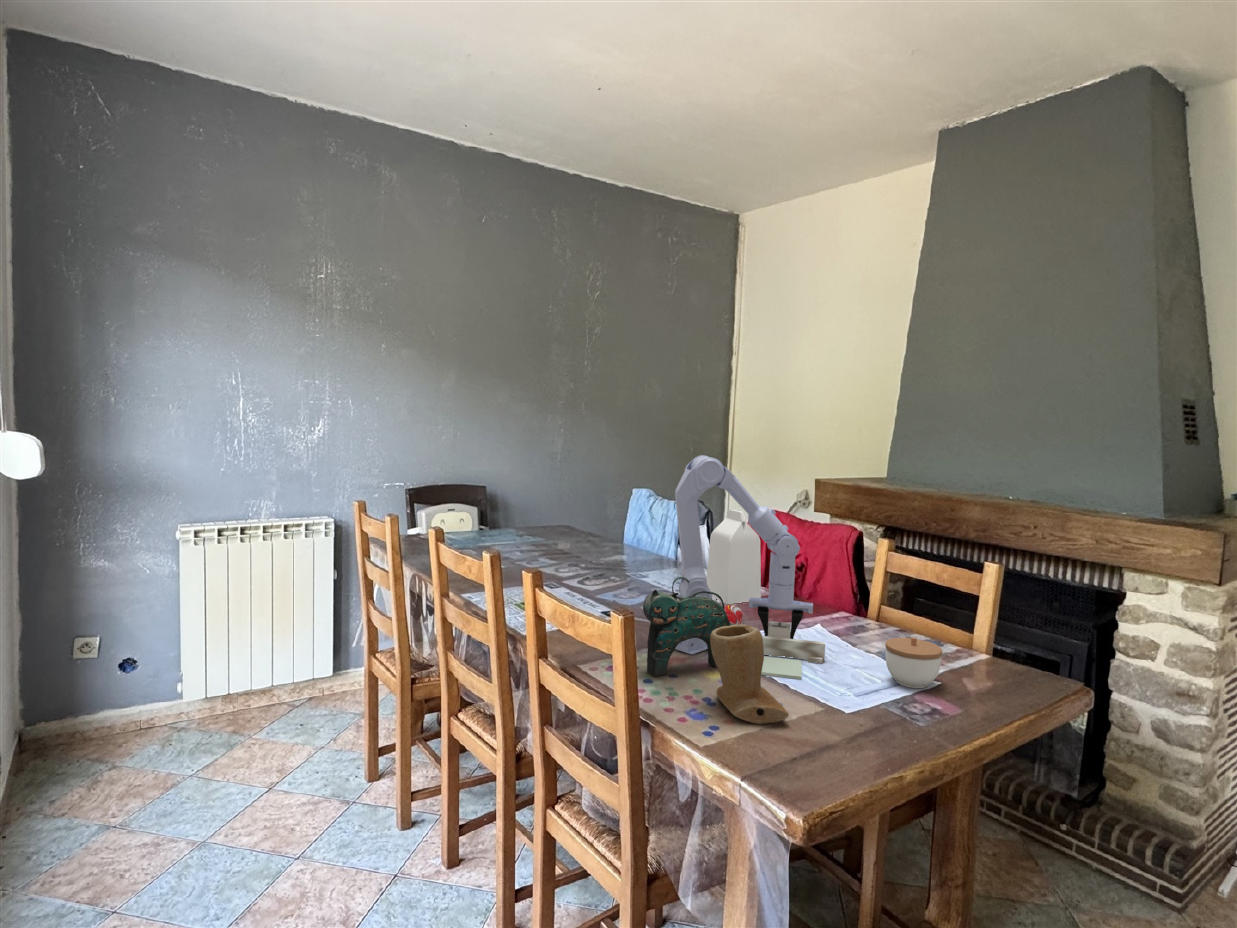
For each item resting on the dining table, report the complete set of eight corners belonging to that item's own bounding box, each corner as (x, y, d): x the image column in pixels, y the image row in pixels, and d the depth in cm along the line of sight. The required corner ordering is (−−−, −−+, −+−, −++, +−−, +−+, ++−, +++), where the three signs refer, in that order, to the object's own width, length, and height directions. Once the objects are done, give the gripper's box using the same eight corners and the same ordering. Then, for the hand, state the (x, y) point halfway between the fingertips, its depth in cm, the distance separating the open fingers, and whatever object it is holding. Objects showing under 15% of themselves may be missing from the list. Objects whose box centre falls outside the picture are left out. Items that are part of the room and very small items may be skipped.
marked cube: (789, 643, 165) (790, 622, 165) (789, 650, 161) (790, 628, 160) (768, 641, 167) (769, 620, 166) (767, 648, 162) (768, 626, 161)
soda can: (746, 630, 172) (744, 648, 161) (718, 631, 174) (713, 649, 163) (743, 602, 172) (740, 618, 160) (715, 603, 174) (709, 619, 162)
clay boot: (700, 693, 134) (703, 617, 133) (760, 692, 136) (763, 616, 135) (723, 729, 119) (726, 643, 118) (789, 726, 121) (793, 642, 120)
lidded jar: (872, 676, 146) (874, 632, 146) (912, 670, 150) (915, 628, 149) (910, 695, 136) (912, 648, 136) (952, 689, 140) (955, 643, 139)
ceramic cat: (648, 680, 141) (651, 582, 139) (635, 668, 147) (638, 574, 145) (733, 669, 148) (737, 576, 147) (718, 658, 154) (721, 569, 153)
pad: (801, 662, 153) (801, 660, 153) (801, 679, 143) (801, 676, 143) (754, 657, 155) (754, 655, 155) (751, 673, 146) (751, 670, 145)
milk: (705, 594, 209) (708, 508, 207) (737, 591, 214) (740, 507, 212) (727, 605, 198) (731, 514, 196) (760, 601, 203) (764, 512, 201)
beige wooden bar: (823, 658, 156) (824, 640, 156) (824, 664, 152) (825, 646, 152) (733, 648, 161) (734, 631, 161) (732, 653, 157) (732, 636, 157)
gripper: (813, 581, 165) (810, 638, 166) (750, 576, 168) (748, 631, 169) (814, 588, 158) (811, 647, 159) (749, 583, 161) (746, 640, 162)
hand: (778, 640), depth 164 cm, fingers closed on marked cube, 5 cm apart
